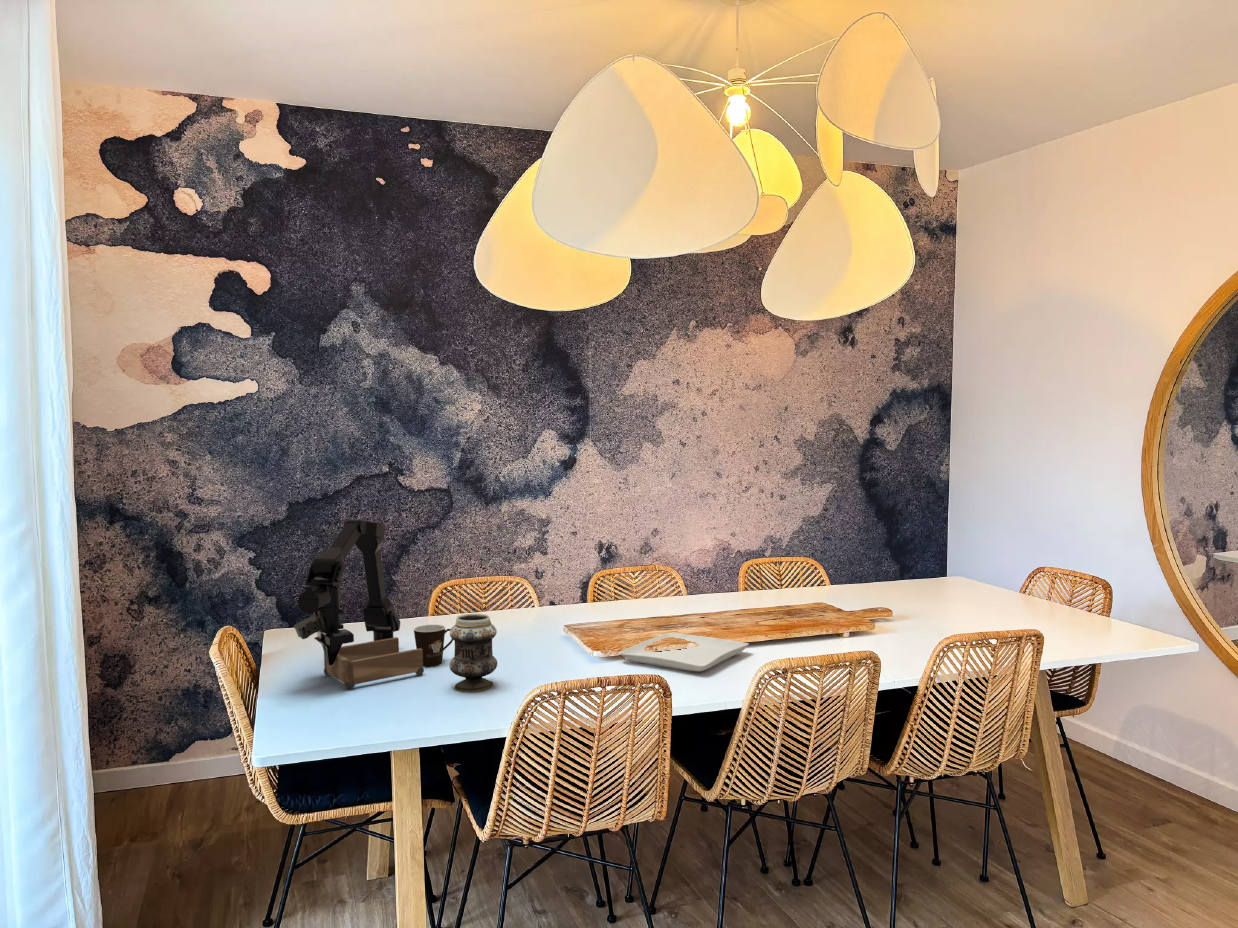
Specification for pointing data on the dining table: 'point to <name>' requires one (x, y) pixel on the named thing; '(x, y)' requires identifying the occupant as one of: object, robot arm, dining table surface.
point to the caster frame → (373, 662)
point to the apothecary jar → (473, 651)
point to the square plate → (686, 653)
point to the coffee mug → (431, 643)
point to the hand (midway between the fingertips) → (330, 664)
